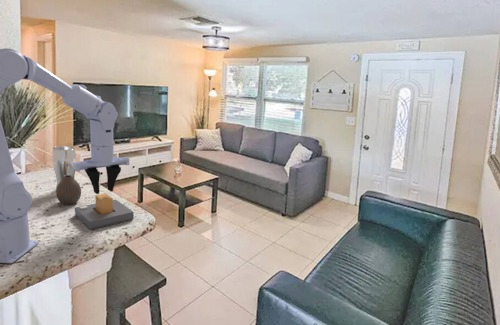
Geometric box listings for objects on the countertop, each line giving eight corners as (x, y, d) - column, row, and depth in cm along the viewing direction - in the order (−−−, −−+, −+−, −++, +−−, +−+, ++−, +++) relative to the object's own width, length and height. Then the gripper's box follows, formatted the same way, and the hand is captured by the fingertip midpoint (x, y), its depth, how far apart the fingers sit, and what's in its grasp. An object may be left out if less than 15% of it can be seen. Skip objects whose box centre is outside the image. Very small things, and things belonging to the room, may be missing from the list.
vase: (53, 206, 100) (52, 179, 98) (60, 198, 106) (58, 173, 104) (78, 206, 102) (77, 179, 100) (83, 198, 108) (82, 173, 106)
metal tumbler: (70, 193, 111) (68, 150, 107) (50, 192, 111) (47, 149, 108) (81, 187, 118) (79, 146, 114) (62, 185, 118) (59, 145, 114)
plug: (112, 217, 95) (112, 198, 93) (102, 220, 93) (101, 200, 91) (106, 212, 98) (106, 193, 96) (96, 214, 96) (95, 195, 94)
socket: (133, 219, 95) (133, 210, 95) (90, 230, 87) (90, 220, 86) (116, 206, 104) (115, 198, 103) (75, 215, 95) (74, 206, 95)
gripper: (121, 140, 98) (122, 183, 101) (68, 144, 88) (71, 192, 91) (132, 145, 93) (132, 190, 96) (77, 149, 83) (80, 199, 86)
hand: (103, 191), depth 93 cm, fingers open, 3 cm apart
